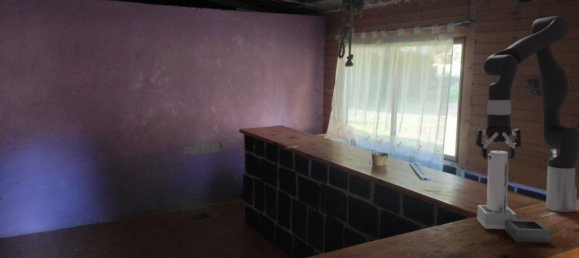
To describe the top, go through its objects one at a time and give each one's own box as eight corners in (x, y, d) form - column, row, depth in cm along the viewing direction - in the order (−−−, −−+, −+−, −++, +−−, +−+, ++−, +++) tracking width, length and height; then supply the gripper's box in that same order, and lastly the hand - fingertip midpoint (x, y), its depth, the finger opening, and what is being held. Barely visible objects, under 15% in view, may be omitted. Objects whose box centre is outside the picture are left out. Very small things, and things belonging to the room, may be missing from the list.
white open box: (506, 220, 160) (506, 205, 160) (515, 229, 150) (516, 214, 150) (477, 219, 162) (477, 205, 161) (484, 228, 152) (485, 213, 151)
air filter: (502, 217, 159) (504, 149, 156) (509, 223, 153) (511, 153, 150) (483, 217, 160) (485, 150, 157) (490, 223, 153) (492, 153, 150)
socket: (536, 231, 148) (537, 220, 147) (549, 242, 138) (549, 230, 137) (505, 231, 149) (505, 219, 149) (515, 241, 139) (516, 229, 139)
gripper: (516, 111, 154) (515, 156, 156) (474, 112, 157) (473, 156, 158) (524, 113, 147) (523, 160, 149) (480, 114, 149) (479, 160, 151)
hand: (497, 158), depth 154 cm, fingers open, 8 cm apart
